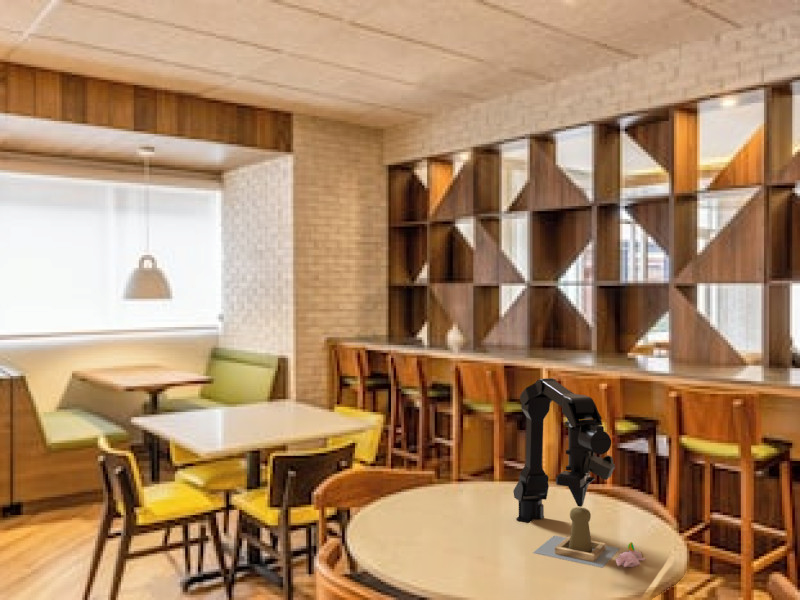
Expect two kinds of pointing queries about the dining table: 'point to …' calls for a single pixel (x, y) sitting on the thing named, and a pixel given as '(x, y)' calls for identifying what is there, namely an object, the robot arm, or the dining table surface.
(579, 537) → the tan tapered cylinder
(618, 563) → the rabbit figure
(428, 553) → the dining table surface
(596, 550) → the snap socket
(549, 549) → the grey base plate
